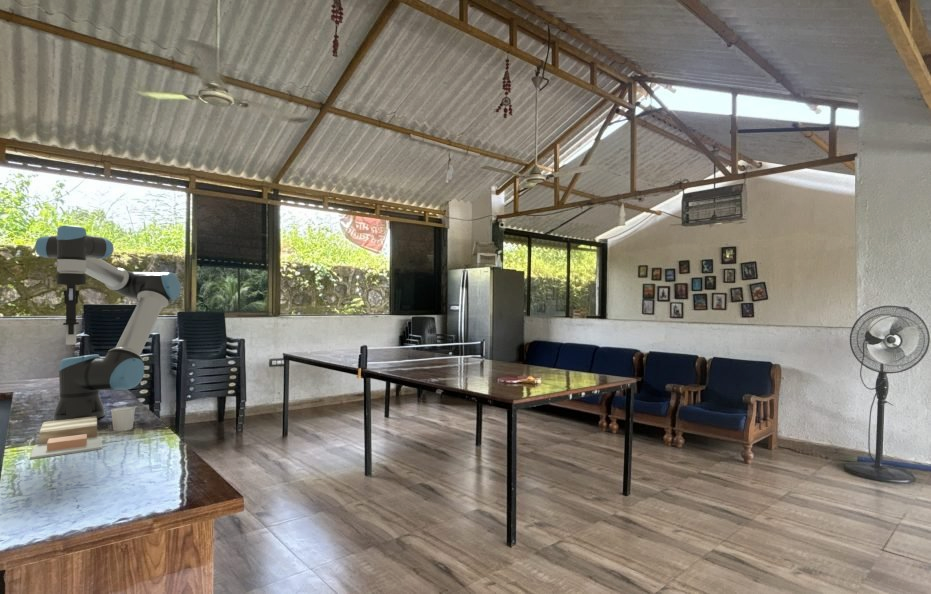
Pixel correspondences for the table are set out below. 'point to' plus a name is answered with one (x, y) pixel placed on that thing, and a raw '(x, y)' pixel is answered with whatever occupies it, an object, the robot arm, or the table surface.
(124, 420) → the shot glass
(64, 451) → the grey mat
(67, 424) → the board
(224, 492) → the table surface
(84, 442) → the terracotta block
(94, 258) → the robot arm
